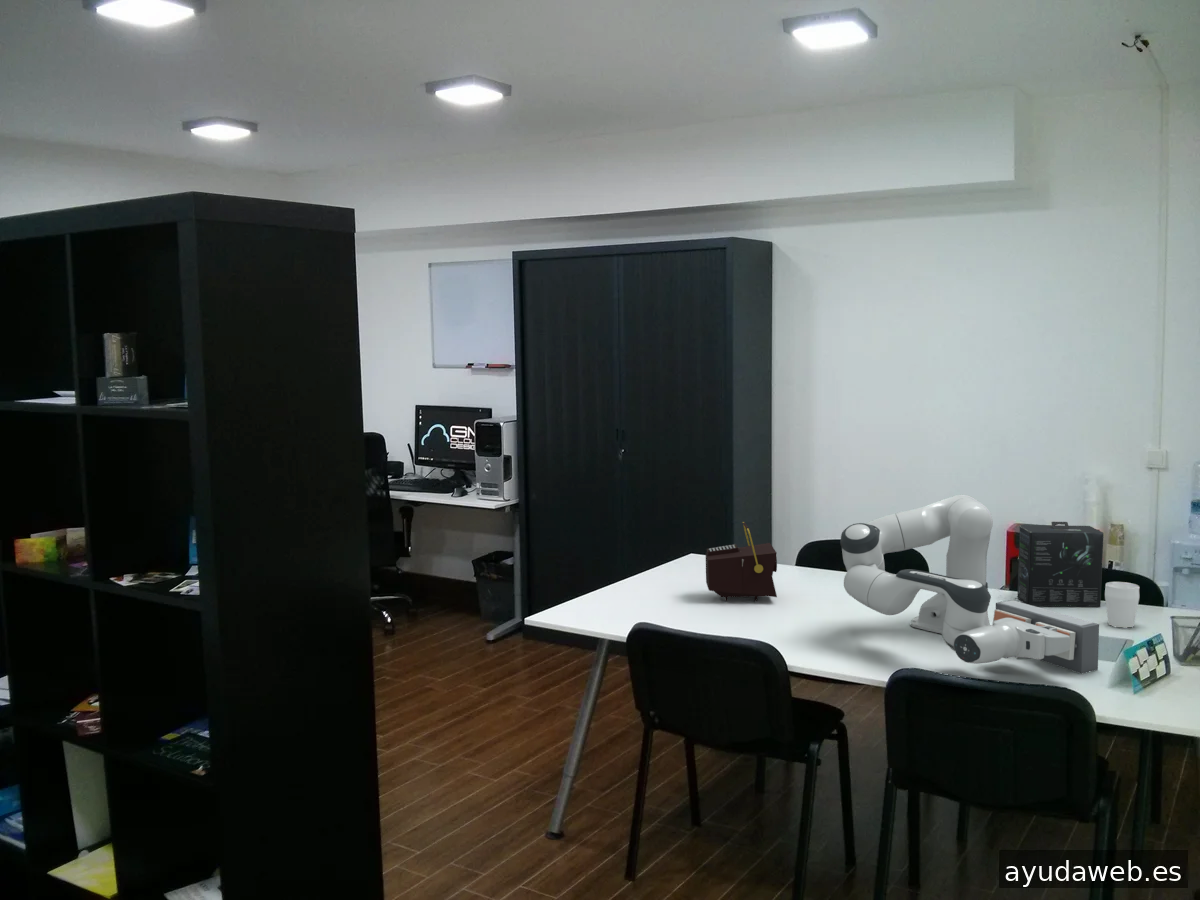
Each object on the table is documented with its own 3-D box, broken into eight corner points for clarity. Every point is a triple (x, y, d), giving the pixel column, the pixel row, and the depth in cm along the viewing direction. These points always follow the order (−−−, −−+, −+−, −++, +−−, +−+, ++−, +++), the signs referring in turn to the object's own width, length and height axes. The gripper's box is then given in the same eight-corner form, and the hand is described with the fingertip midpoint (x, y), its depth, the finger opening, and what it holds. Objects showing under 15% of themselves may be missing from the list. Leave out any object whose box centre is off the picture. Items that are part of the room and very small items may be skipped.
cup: (1119, 631, 294) (1121, 590, 292) (1096, 622, 302) (1097, 583, 301) (1145, 628, 296) (1147, 587, 295) (1122, 619, 305) (1123, 580, 303)
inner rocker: (1023, 645, 271) (1027, 619, 271) (989, 634, 281) (993, 609, 281) (1030, 645, 272) (1034, 619, 272) (996, 634, 282) (999, 609, 282)
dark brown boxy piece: (781, 604, 332) (780, 528, 329) (709, 606, 332) (708, 530, 330) (773, 591, 348) (773, 519, 345) (705, 593, 349) (704, 521, 346)
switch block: (1081, 673, 259) (1082, 626, 258) (994, 645, 284) (995, 602, 283) (1113, 665, 264) (1115, 619, 263) (1025, 638, 289) (1026, 596, 288)
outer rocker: (1069, 660, 258) (1071, 633, 258) (1031, 648, 269) (1033, 622, 268) (1076, 659, 260) (1078, 632, 259) (1038, 647, 270) (1040, 621, 269)
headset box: (1088, 597, 330) (1090, 518, 327) (1102, 607, 318) (1104, 525, 315) (1015, 597, 332) (1017, 519, 329) (1027, 607, 321) (1029, 526, 318)
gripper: (981, 639, 267) (1020, 631, 273) (1044, 661, 248) (1085, 652, 254) (981, 616, 266) (1020, 608, 272) (1045, 636, 248) (1086, 627, 253)
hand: (1052, 629), depth 263 cm, fingers closed, pressing on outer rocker
